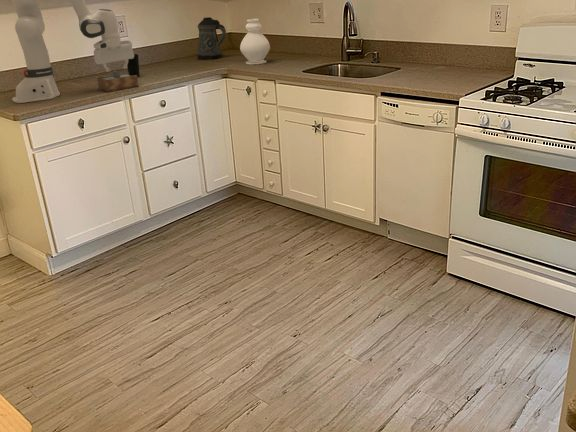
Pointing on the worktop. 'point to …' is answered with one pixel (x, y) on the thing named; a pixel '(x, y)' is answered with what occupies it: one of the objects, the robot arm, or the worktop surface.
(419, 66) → the worktop surface
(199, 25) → the beer stein
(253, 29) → the decorative vase
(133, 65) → the cup
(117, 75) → the cover plate
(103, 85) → the walnut box
